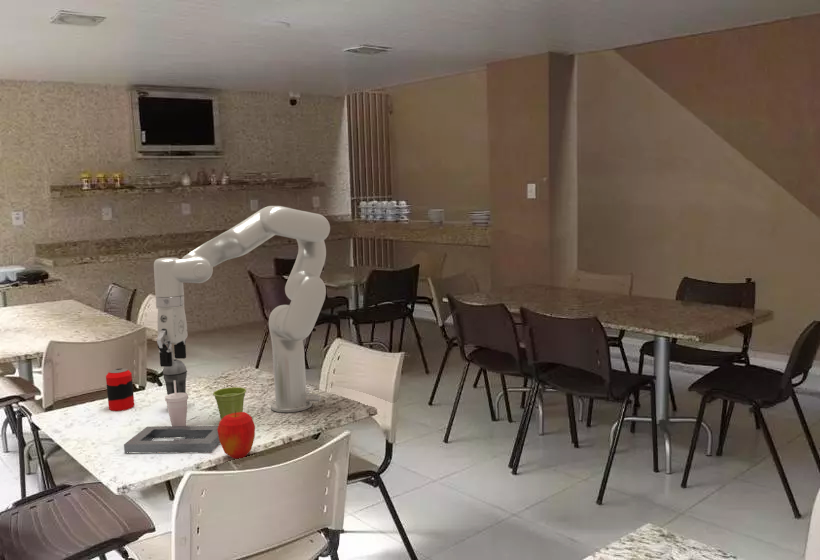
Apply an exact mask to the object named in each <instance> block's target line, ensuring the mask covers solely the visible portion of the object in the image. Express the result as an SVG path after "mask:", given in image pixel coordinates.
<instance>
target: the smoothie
mask: <svg viewBox="0 0 820 560" xmlns="http://www.w3.org/2000/svg"><path fill="white" fill-rule="evenodd" d="M173 381H174V393H173V394H169V395H167V394H166V395H165V396H164V401H165V402H166V405H167V406H166V407H167V410H168V416H169V419H170V426H187V417H188V416H187V415H188V399H190V398H189V394H188V393H187V392H186V393H177V392H176V380H173Z"/></svg>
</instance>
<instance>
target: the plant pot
mask: <svg viewBox="0 0 820 560" xmlns="http://www.w3.org/2000/svg"><path fill="white" fill-rule="evenodd" d="M246 393H247V389H246V388H245V387H240V386H235V387H234V386H233V387H226V388H225V387H224V388H220V389H217V390H215V391H213V393H212V395H213V396H214V399H215V400H216V404H217V408H218V412H219V417H220V421H221V420H222V418H223V417H224V416H226V415H229V414H232V413H235V411H236V413H238V412H244V402H245V401H244V400H245V397H246V395H245V394H246Z"/></svg>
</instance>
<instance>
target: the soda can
mask: <svg viewBox="0 0 820 560" xmlns="http://www.w3.org/2000/svg"><path fill="white" fill-rule="evenodd" d="M132 374H133V373H132V371H130V370H129V369H128V368H124V367H123V368H115V369H111V370H108V373H106V375H105V381H106V383H105V384H106V393H107V404H108V409H109V410H110V411H111V412H121V411H122V410H123V411H127V410H130V409H133V408H134V406H135V397H134V395H135V394H134V386H133V375H132ZM123 411H122V412H123Z"/></svg>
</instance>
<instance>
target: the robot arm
mask: <svg viewBox="0 0 820 560" xmlns="http://www.w3.org/2000/svg"><path fill="white" fill-rule="evenodd" d="M330 232H331V225H330V222H329V221H328V219H327V218H326V217H325V216H324V215H322V214H320V213H315V212H310V211H305V210H300V209H295V208H292V207H287V206H283V205H268V206H266V207H262V208H261V209H259V210H258V211H256V212H255V213H253V214H252V215H250V216H248V217H247V218H246V219H244V220H241V222H239V223H237V224H236V225H234V226H232V227H231V228H230V229H228V230H226V231H224V232H222V233H220V234H218V235H217V236H215V237H213V238H212V239H210V240H208V241H205V242H204V243H202V244H201V245H199V246H198V247H195V249H193V250H191V251H189V253H187V254H186V255H184V256H183V257H181V258H178V257H161V258H160V257H159V258H157V259H155V260H154V262H153V272H154V273H153V274H154V276H153V277H154V278H153V279H154V288H155V289H154V291H155V295H154V296H155V306H156V307H155V308H156V309H157V339H156V343H157V348H158V353H159V365H160V367H161V368H162V367H163V368H164V367H171V366H172V352H171V346H173V349H174V351H173V353H174V354H173V355H174V359H177V360H181V359H186V358H187V352H186V351H187V350H186V349H187V347H186V344H187V341H186V339H187V338H188V333H189V332H188V323H187V316H186V309H185V291H184V288H185V287H184V283H189V284H190V283H191V284H192V283H193V284H202V283H205V282H207V281H208V280H209V279H211V277H212V275H213V273H214V272H213V271H214V269H213V268H215V267H216V266H218V265H220V264H221V263H224V262H225V261H227V260H228V261H229V260H231V259H232V260H233V259H236V258H239V257H243V256H244V255H247V254H249V253H250V252H252V251H253V250H254V249H256V248H258V247H259V246H260V245H262V244H264V243H265V242H266V241H268V240H270V239H271V238H273V237H274V236H280V237H284V238H289V239H294V240H296V242H297V246H298V252H297V256H296V259H295V262H294V264H293V267H292V269H291V271H290V274H289V276H288V278H287V281H286V283H285V286H284V292H285V295H286V297H287V298H288V299H289V300H290V303H289V304H281V305H278V306H276V307H275V308H273V310H272V311H271V312H270V314H269V317H268V330H269V335H270V340H271V349H272V366H273V381H274V382H273V383H274V395H275V396H274V397H275V398H274V399H275V400H274V401H273V402H271V404H270V409H271V410H272V411H273V412H277V413H296V412H302V411H305V410H308V409H310V408H311V407H312V406H313V402H314V403H315V402H321V398H322V397H321V395H320V394H318V393H310V390H309V389H307V379H306V361H305V347H304V340H305V339H306V338H308V337H309V336H310V334H311V333H312V331H313V329H314V327H315V325H316V322H317V321H318V318H319V315H320V312H321V311H322V308H323V305H324V302H325V300H326V295H327V287H326V284H325V282H324V281H323V279H322V278H321V277H320V276H321V273H322V271H323V268H324V265H325V262H326V258H327V257H326V256H327V248H326V243H325V240H327V238H328V237H329V234H330Z"/></svg>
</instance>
